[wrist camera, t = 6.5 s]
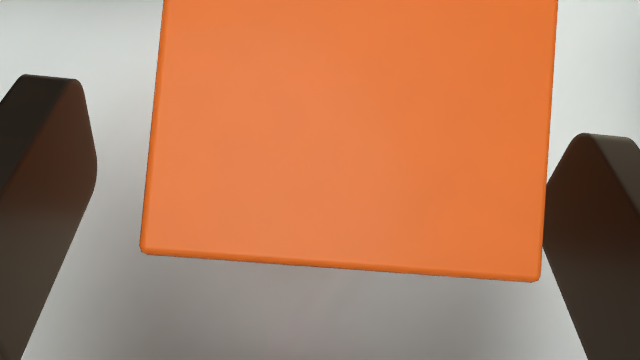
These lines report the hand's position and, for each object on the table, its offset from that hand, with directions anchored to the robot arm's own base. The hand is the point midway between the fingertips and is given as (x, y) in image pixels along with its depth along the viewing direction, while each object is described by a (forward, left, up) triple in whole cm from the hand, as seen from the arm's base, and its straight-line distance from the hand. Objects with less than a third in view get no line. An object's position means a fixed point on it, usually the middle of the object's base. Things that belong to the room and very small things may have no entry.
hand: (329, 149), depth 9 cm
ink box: (0, +1, -6) cm, 6 cm away
